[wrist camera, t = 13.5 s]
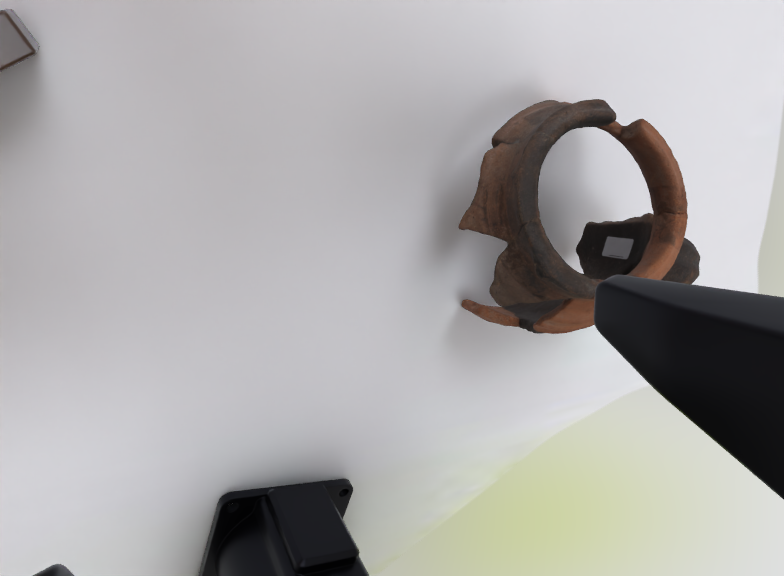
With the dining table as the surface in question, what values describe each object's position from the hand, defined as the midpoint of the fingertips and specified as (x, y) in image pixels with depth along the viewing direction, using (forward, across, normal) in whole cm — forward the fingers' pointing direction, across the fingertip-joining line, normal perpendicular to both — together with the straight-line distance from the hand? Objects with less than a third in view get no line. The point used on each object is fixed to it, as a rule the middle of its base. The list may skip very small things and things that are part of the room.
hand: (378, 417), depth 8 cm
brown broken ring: (+12, -13, +6) cm, 19 cm away
